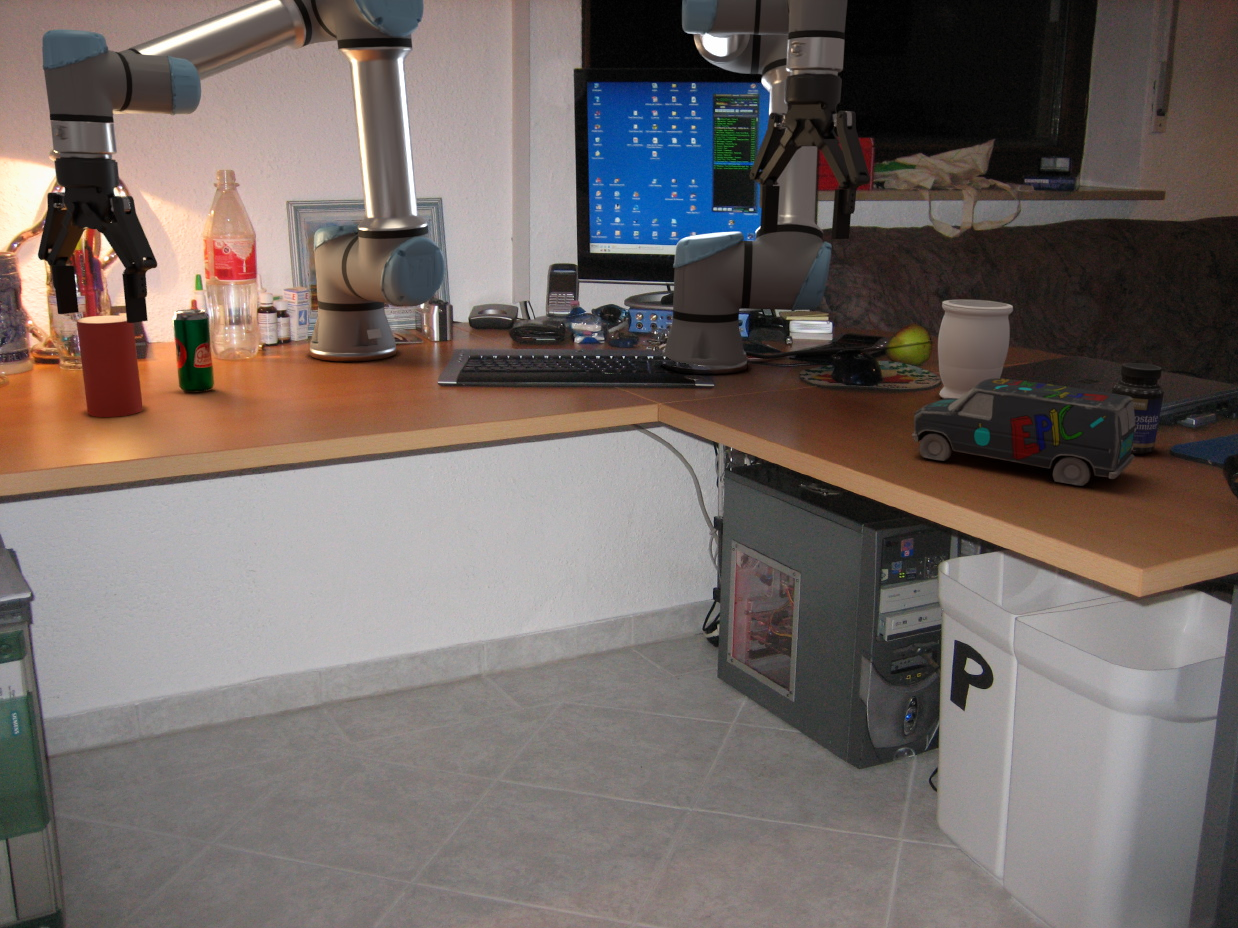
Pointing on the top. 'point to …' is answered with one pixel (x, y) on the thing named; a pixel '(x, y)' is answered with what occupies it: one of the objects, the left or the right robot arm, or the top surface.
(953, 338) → the jar
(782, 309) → the right robot arm
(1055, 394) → the toy van
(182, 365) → the soda can
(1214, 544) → the top surface
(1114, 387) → the pill bottle
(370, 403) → the top surface
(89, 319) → the canister
